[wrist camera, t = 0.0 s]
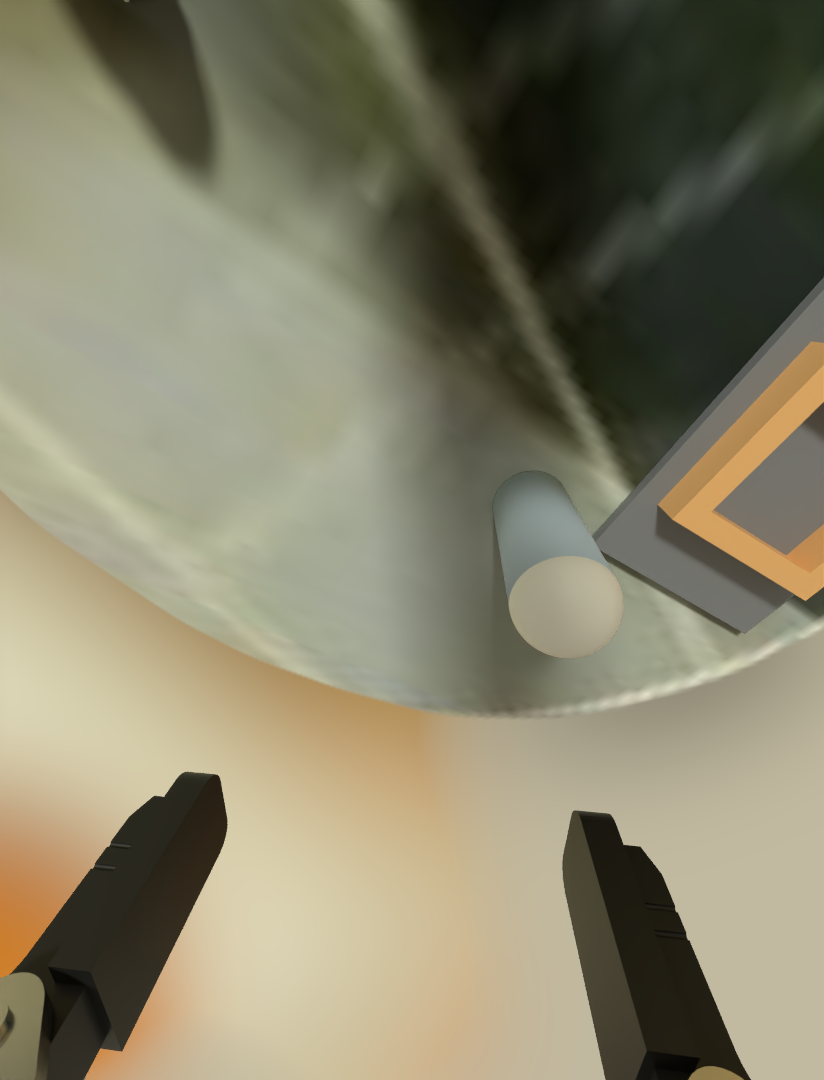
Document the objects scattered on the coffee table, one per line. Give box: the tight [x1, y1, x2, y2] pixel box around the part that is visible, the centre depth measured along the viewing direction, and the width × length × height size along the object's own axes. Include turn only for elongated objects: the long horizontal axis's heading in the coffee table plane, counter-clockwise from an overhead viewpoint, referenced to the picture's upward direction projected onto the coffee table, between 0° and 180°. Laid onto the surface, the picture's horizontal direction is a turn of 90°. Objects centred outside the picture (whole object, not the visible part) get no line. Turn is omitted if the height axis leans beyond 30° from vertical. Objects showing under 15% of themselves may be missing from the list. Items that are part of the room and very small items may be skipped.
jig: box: [592, 277, 824, 634], centre depth 26 cm, size 20×14×3 cm
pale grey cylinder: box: [493, 471, 624, 658], centre depth 24 cm, size 5×5×14 cm
